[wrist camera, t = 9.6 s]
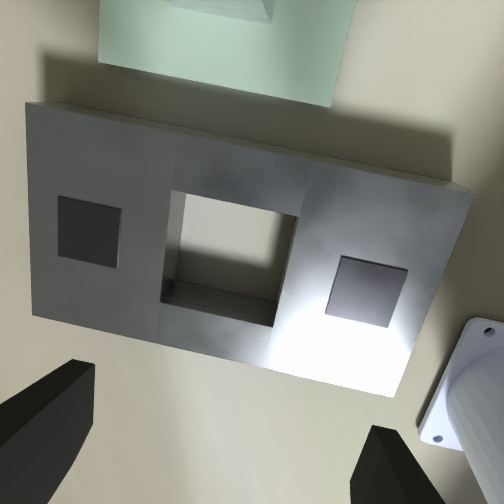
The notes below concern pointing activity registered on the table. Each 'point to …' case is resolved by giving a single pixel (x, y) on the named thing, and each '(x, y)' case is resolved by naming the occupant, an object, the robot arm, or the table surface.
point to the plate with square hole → (244, 193)
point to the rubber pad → (232, 45)
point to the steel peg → (231, 8)
